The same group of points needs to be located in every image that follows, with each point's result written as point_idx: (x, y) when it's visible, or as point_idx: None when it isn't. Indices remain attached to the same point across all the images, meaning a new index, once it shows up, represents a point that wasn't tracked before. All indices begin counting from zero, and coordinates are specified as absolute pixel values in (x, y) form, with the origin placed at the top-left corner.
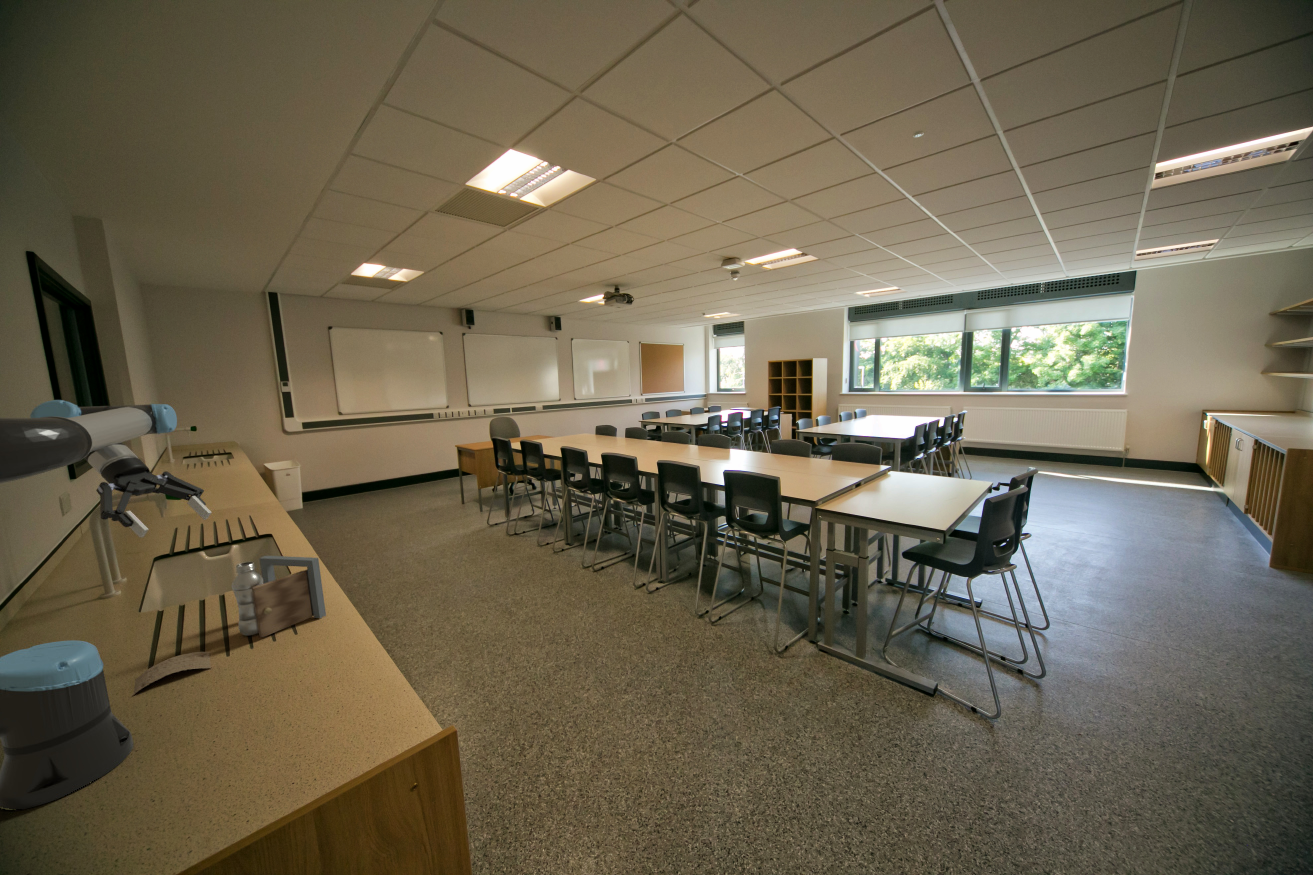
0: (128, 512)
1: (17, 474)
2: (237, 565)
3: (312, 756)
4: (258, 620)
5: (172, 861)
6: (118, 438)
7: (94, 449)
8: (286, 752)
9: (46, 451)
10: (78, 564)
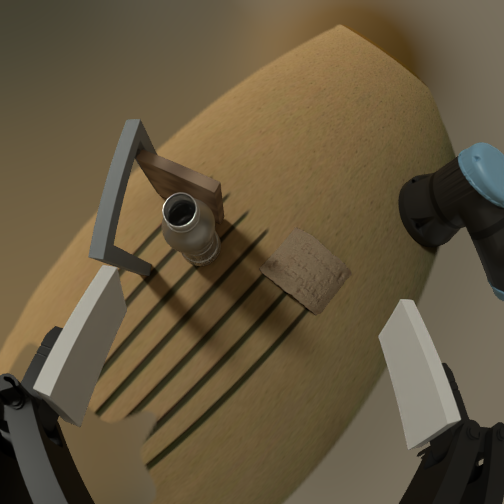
0: (453, 411)
1: None
2: (184, 225)
3: (372, 66)
4: (221, 209)
5: (431, 96)
6: None
7: None
8: (375, 79)
9: None
10: None
